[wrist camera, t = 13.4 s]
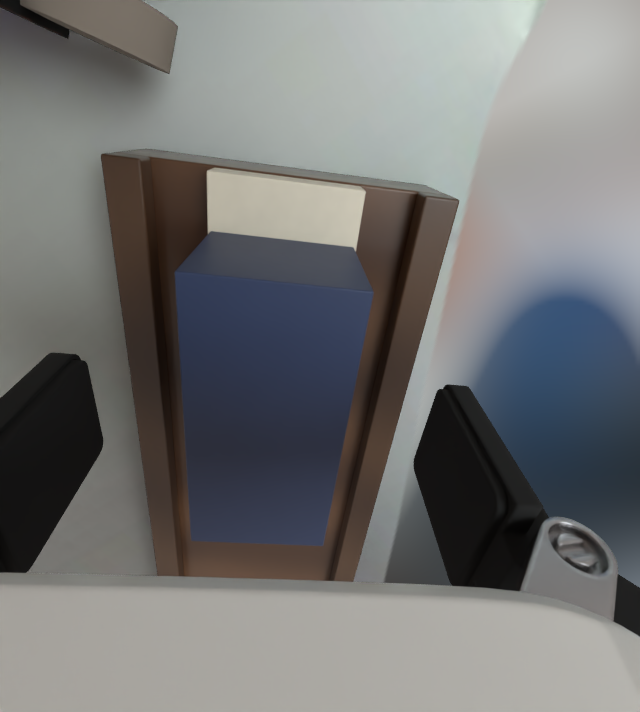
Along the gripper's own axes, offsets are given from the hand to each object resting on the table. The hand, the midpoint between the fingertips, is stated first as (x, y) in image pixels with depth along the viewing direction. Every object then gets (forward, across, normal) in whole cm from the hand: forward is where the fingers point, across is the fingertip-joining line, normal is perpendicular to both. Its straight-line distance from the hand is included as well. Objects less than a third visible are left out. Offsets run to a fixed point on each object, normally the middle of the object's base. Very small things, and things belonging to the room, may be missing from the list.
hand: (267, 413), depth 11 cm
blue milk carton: (+6, 0, +1) cm, 6 cm away
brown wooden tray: (+9, 0, +9) cm, 12 cm away
